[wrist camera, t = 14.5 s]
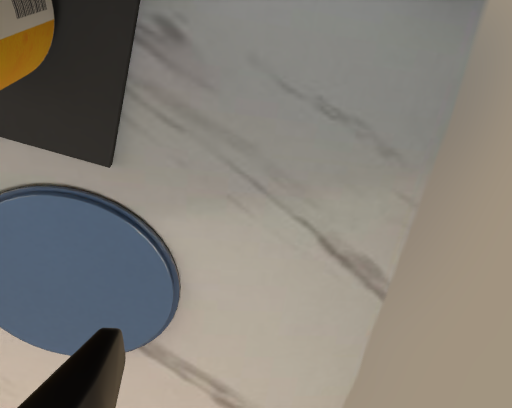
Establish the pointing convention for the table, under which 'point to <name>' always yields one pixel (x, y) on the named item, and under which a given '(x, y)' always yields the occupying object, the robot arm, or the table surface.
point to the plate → (80, 270)
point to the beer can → (24, 37)
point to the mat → (75, 83)
